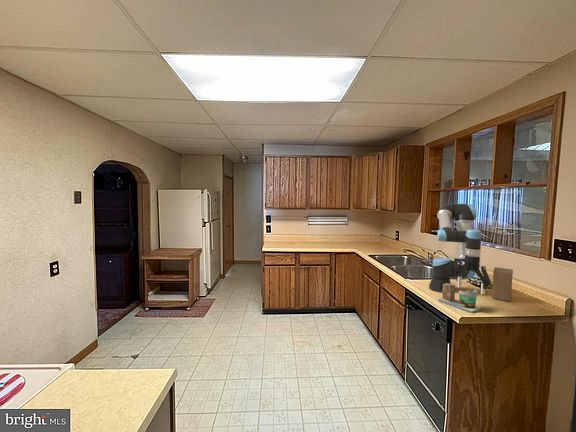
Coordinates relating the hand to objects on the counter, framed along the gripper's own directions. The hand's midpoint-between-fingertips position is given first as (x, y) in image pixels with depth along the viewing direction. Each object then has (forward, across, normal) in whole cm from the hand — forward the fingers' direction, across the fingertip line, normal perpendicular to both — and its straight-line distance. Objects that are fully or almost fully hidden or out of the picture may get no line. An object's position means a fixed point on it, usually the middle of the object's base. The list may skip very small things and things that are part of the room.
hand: (470, 290), depth 168 cm
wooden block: (+12, -2, +39) cm, 41 cm away
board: (+11, -6, -1) cm, 13 cm away
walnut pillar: (+10, -13, -1) cm, 17 cm away
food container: (+10, +1, -1) cm, 10 cm away
